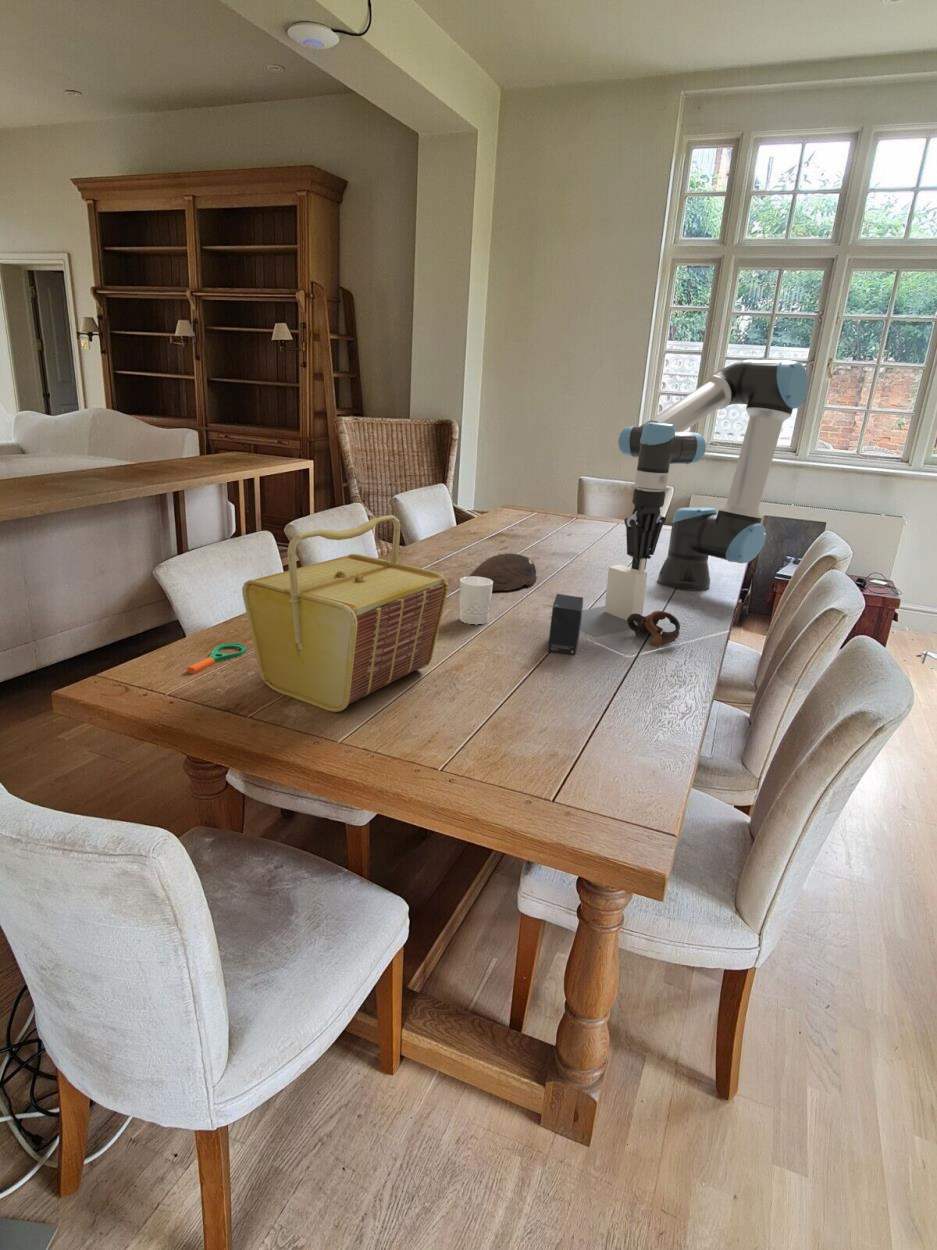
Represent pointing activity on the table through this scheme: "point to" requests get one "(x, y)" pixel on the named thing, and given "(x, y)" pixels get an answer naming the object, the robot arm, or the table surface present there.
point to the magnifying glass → (216, 657)
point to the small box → (565, 624)
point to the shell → (507, 571)
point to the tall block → (625, 591)
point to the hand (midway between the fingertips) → (636, 582)
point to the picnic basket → (343, 622)
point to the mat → (601, 622)
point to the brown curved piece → (654, 627)
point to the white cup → (475, 599)
